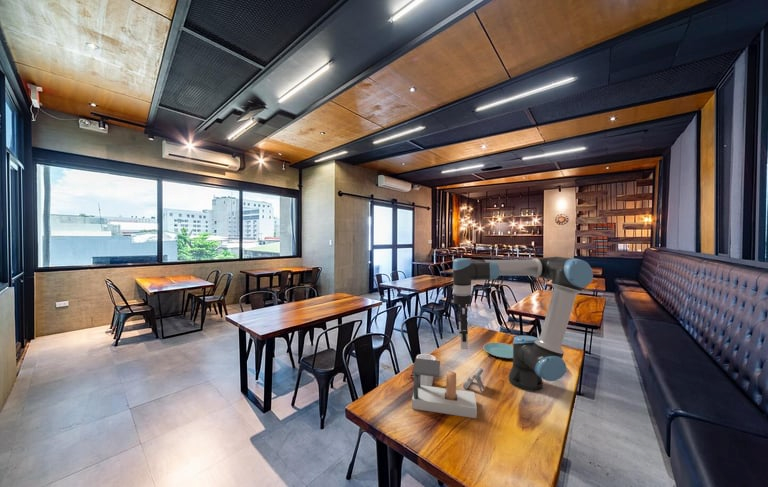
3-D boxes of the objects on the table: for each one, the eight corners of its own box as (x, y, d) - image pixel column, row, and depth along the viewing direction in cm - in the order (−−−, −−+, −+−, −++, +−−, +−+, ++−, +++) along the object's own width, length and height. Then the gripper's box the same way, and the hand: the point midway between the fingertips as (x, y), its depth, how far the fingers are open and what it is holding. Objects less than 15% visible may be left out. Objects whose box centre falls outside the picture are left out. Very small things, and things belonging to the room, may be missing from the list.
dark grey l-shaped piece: (439, 387, 127) (440, 360, 127) (438, 403, 114) (438, 374, 114) (415, 383, 129) (415, 358, 129) (411, 399, 117) (412, 371, 116)
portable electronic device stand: (469, 381, 140) (469, 364, 140) (485, 386, 136) (485, 369, 135) (463, 388, 133) (463, 371, 133) (479, 394, 129) (480, 376, 128)
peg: (455, 403, 121) (456, 371, 121) (455, 409, 117) (456, 376, 117) (446, 402, 122) (446, 370, 122) (445, 407, 118) (446, 375, 118)
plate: (528, 362, 162) (529, 357, 162) (490, 361, 163) (490, 356, 163) (512, 346, 185) (512, 342, 185) (478, 346, 185) (478, 342, 185)
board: (474, 401, 123) (474, 392, 123) (476, 418, 111) (476, 408, 111) (415, 392, 129) (415, 384, 129) (411, 408, 117) (411, 399, 117)
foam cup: (435, 390, 131) (435, 363, 131) (415, 388, 133) (415, 361, 133) (435, 380, 141) (435, 354, 140) (417, 378, 142) (417, 353, 142)
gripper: (452, 288, 134) (453, 332, 135) (454, 300, 110) (455, 354, 110) (468, 288, 132) (469, 332, 133) (474, 301, 108) (475, 355, 109)
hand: (463, 342), depth 122 cm, fingers open, 13 cm apart
